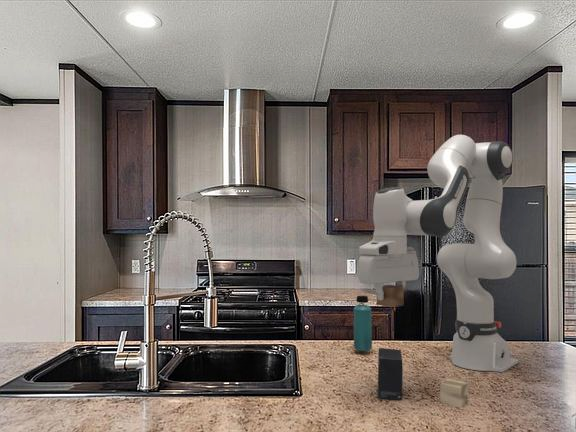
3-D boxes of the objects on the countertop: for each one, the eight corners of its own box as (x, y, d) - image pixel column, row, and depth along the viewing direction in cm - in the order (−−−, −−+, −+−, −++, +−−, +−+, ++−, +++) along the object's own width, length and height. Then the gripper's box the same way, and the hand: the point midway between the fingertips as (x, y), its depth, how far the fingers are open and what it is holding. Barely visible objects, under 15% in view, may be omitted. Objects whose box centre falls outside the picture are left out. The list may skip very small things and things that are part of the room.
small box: (403, 401, 116) (403, 359, 116) (377, 399, 117) (377, 357, 118) (401, 387, 126) (401, 348, 127) (377, 385, 128) (377, 347, 128)
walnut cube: (389, 302, 126) (389, 284, 126) (403, 305, 122) (403, 286, 122) (376, 304, 123) (376, 286, 123) (390, 307, 119) (390, 288, 119)
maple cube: (447, 397, 118) (447, 378, 119) (467, 402, 115) (467, 382, 115) (440, 403, 115) (440, 383, 115) (460, 408, 111) (460, 387, 112)
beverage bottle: (373, 355, 158) (373, 297, 159) (354, 355, 158) (354, 297, 159) (370, 350, 165) (370, 294, 165) (352, 350, 165) (352, 294, 165)
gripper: (406, 246, 132) (406, 294, 131) (354, 247, 120) (354, 300, 119) (424, 246, 126) (424, 297, 126) (371, 248, 115) (371, 303, 114)
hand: (390, 298), depth 123 cm, fingers closed on walnut cube, 5 cm apart
